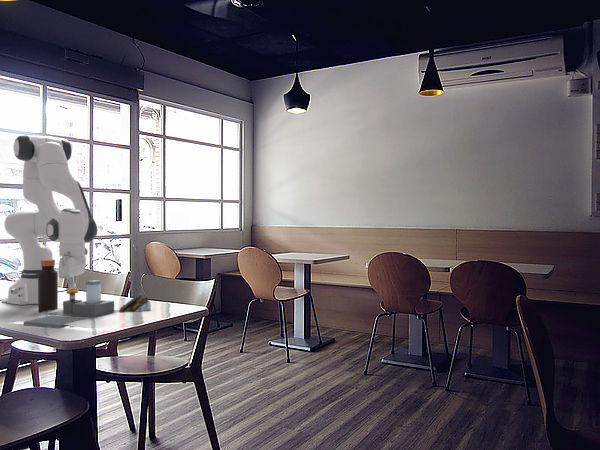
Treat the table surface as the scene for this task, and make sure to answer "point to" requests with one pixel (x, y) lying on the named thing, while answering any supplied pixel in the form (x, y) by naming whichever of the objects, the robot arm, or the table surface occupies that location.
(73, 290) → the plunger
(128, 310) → the chocolate cake
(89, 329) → the table surface
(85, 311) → the block
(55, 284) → the bottle
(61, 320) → the mat
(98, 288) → the block
